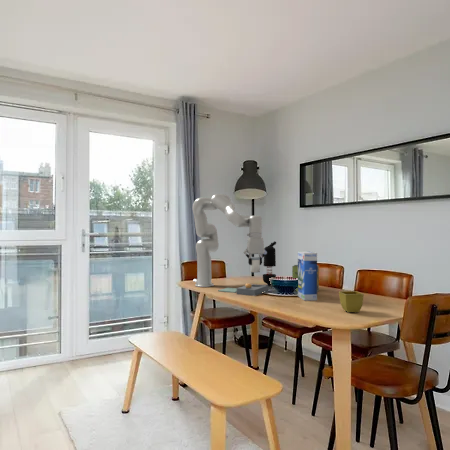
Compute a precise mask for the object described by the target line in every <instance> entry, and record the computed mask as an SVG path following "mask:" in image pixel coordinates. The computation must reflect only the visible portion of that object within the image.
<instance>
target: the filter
mask: <svg viewBox="0 0 450 450" xmlns="http://www.w3.org/2000/svg"><path fill="white" fill-rule="evenodd" d="M276 244H277V241H273V242H270V244H268V246H264V249H265V250H266V252H267V254H266V255H265V256H264V257H263V267H266V269H267V273H264V274H262V280H263V282H264V283H265V284H266V285H269V287H271V286H272V284H270V281H269V278H271V277H276V278H277V275H276V274H275V273H272V269H273V267H276V266H277V263H276V261H277V260H276V255H277V254H276V248H275V247H274V246H275V245H276ZM268 268H269V269H268Z"/></svg>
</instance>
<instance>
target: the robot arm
mask: <svg viewBox="0 0 450 450" xmlns="http://www.w3.org/2000/svg"><path fill="white" fill-rule="evenodd" d="M231 200H232V199H231V197H230V196H229V195H227V194H224V193H215V194H213V195H212V197H205V196H204V197H203V196H201V197H198V198H196V199H195V200H194V201H193V204H192V213H193V217H194V219H193V220H194V225H195V227H194V228H195V234H196V235H197V237H199V238H204V239H199V240H198V241H197V242H196V243H195V251H196V259H197V261H196V263H197V265H196V266H197V268H196V269H197V272H196V273H197V275H196V276H197V278H194V279H193V283H195V284H194V286H195V287H198V288H209V287H214V286H215V284H214V283H212V257H211V254H212V253H216V252H217V251H218V249H219V237H218V231H217V228H216V226H215V224H213V223H208V218H207V214H206V212H205V211H216V210H217V211H218V210H220V211H221V212H222V213H223V214H224V215H225V217H226V219H227V220H228V221H229V222H230V223H231V224H233V226H235V227H236V228H237V227H238V228H249V230H248V231H249V232H248V233H247V234H246V236H247V237H248V238H247V243H246V248H245V250H244V251H243V253H242V254H243V255H245V257H247V259H248V262H247V263H248V265H249V266H251V265H252V259H251V257H253V256H252V255H258V257H260V266H261V265H262V264H263V259H264V256H265V255H266V254H267V252H266V250H265V249H264V248H265V244H264V238H263V237H262V228H263V227H262V222H263V221H262V219H263V218H262V216H261V215H247V214H246V215H245V214H240V213H238V212H237V211H235V208H236V206H235V204H234V203H233V202H231ZM210 253H211V254H210Z"/></svg>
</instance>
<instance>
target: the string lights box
mask: <svg viewBox="0 0 450 450" xmlns="http://www.w3.org/2000/svg"><path fill="white" fill-rule="evenodd" d="M297 265H298V291H297V297H299V298H300V299H301V300H303V301H305V302H306V301H318V292H317V265H318V253H317V252H315V251H314V252H313V251H309V250H306V251H305V250H303V251H299V250H298V251H297Z"/></svg>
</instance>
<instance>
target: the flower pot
mask: <svg viewBox="0 0 450 450" xmlns="http://www.w3.org/2000/svg"><path fill="white" fill-rule="evenodd" d="M338 294H339V295H338V296H339V302H340V306H341V308H342V309H343V311H344V310H345V311H344V312H346V311H347V313H348V312H355V313H356V312H358V313H359V312H360V311H361V309H362V307H363V304H364V295H365V293H362V292H359V291H355V290H351V291H350V290H349V291H348V290H346V291H345V290H344V291H338Z"/></svg>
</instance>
